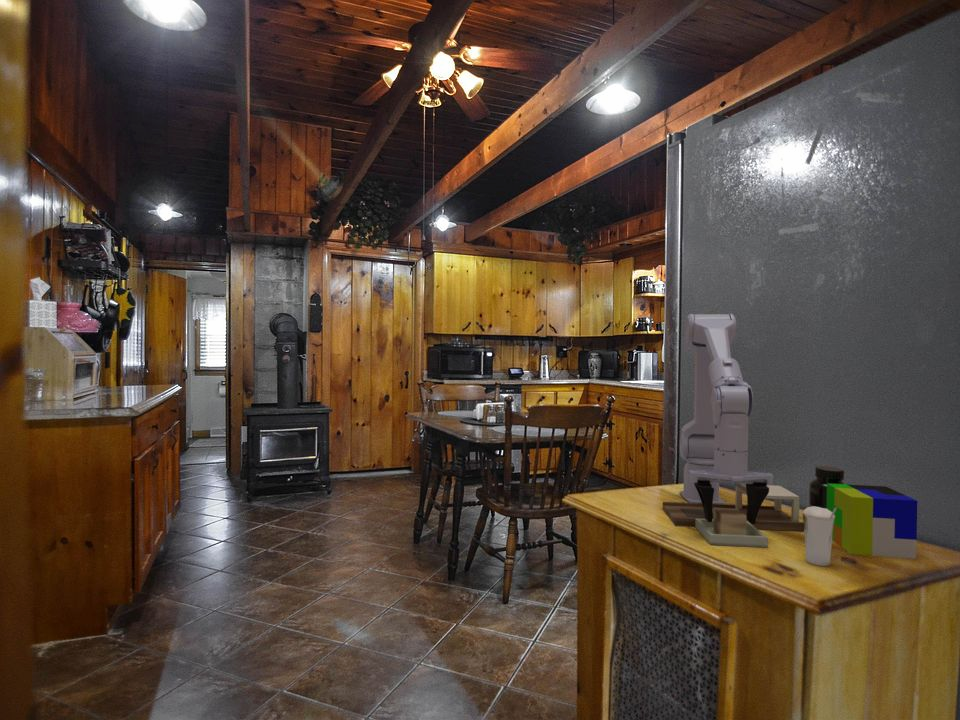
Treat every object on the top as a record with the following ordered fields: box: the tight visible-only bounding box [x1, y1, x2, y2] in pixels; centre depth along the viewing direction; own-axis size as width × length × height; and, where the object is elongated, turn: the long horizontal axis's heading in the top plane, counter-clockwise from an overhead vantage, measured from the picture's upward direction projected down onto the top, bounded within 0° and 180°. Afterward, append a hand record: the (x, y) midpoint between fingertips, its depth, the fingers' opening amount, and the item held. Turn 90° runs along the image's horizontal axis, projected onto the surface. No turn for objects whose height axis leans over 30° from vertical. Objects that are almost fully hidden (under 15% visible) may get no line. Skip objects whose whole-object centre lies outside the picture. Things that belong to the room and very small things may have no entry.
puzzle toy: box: [827, 483, 918, 560], centre depth 98 cm, size 10×10×10 cm
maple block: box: [714, 508, 746, 535], centre depth 102 cm, size 4×4×4 cm
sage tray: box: [694, 519, 769, 549], centre depth 102 cm, size 10×10×2 cm
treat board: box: [662, 501, 804, 532], centre depth 113 cm, size 12×24×2 cm, turn 83°
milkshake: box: [802, 506, 837, 567], centre depth 90 cm, size 4×5×10 cm
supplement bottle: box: [807, 465, 846, 509], centre depth 108 cm, size 7×7×12 cm
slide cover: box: [734, 483, 800, 522], centre depth 113 cm, size 9×10×6 cm
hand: (729, 521), depth 102 cm, fingers open, 7 cm apart
